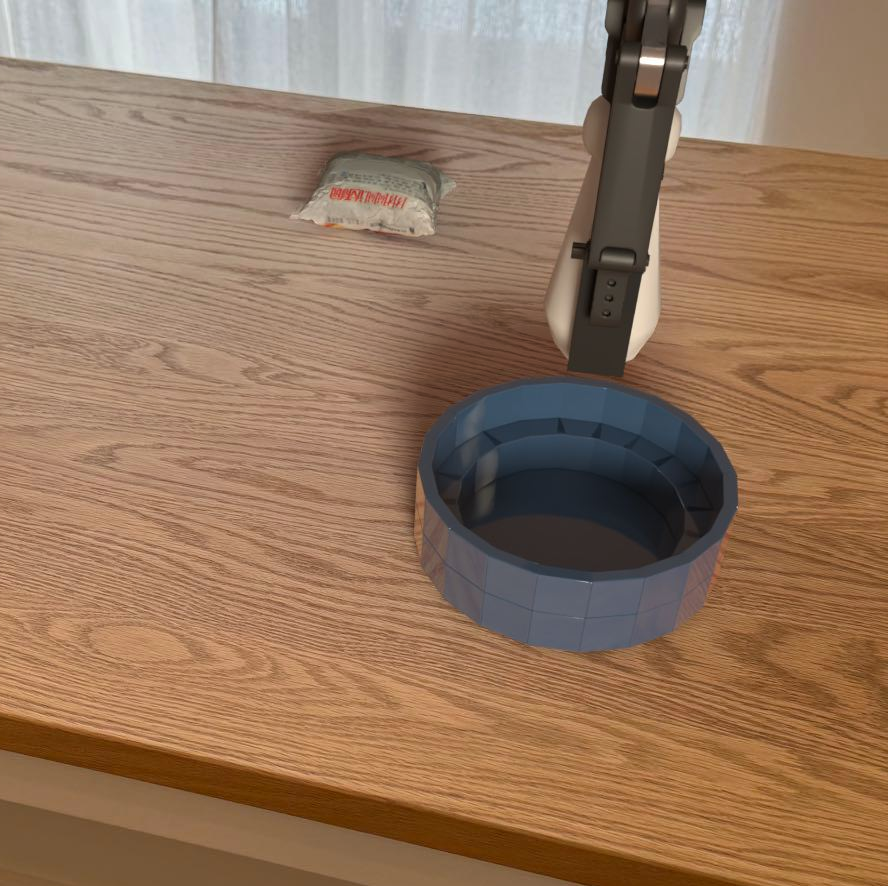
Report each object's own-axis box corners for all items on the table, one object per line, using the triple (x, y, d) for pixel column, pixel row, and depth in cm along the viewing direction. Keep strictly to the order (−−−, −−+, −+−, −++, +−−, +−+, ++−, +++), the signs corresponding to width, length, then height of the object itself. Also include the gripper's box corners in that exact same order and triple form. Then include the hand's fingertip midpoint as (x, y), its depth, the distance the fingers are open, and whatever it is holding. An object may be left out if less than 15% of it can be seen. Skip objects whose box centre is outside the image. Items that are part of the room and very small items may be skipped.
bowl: (714, 471, 78) (734, 395, 74) (717, 682, 66) (742, 604, 62) (438, 436, 81) (443, 360, 77) (391, 632, 68) (394, 554, 64)
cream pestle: (640, 389, 61) (691, 139, 52) (526, 365, 62) (557, 118, 53) (661, 326, 65) (712, 84, 56) (553, 305, 66) (586, 65, 57)
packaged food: (434, 259, 97) (437, 201, 94) (288, 238, 99) (287, 181, 96) (455, 207, 103) (459, 151, 100) (318, 189, 105) (318, 134, 102)
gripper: (600, -240, 54) (541, 233, 70) (568, -112, 41) (504, 437, 57) (776, -231, 53) (676, 247, 69) (802, -96, 40) (670, 458, 56)
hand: (598, 332), depth 63 cm, fingers closed on cream pestle, 6 cm apart
